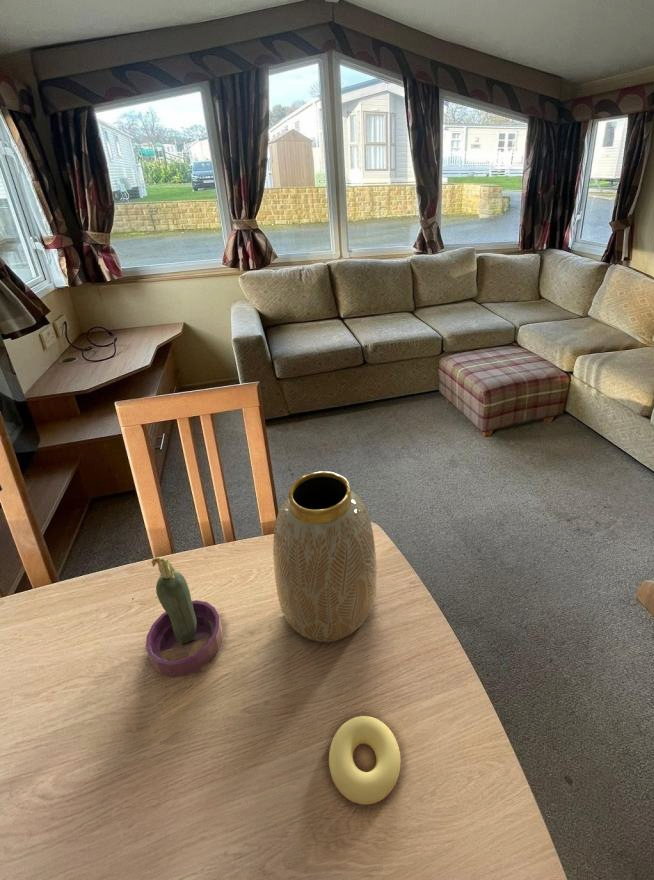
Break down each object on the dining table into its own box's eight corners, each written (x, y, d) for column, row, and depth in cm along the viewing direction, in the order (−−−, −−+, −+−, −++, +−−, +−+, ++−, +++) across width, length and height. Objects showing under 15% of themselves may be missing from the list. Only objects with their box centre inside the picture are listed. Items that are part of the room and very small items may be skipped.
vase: (350, 556, 98) (344, 446, 86) (395, 622, 84) (395, 503, 73) (267, 594, 90) (248, 479, 78) (303, 674, 76) (287, 549, 65)
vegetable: (207, 634, 82) (184, 548, 73) (193, 659, 78) (168, 571, 69) (183, 630, 83) (158, 544, 74) (168, 654, 79) (140, 567, 70)
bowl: (149, 693, 74) (142, 675, 72) (155, 628, 84) (149, 611, 82) (225, 669, 77) (220, 651, 75) (222, 609, 87) (218, 592, 85)
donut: (377, 724, 72) (318, 752, 67) (379, 699, 71) (318, 726, 66) (412, 790, 63) (347, 827, 59) (414, 763, 62) (348, 798, 58)
